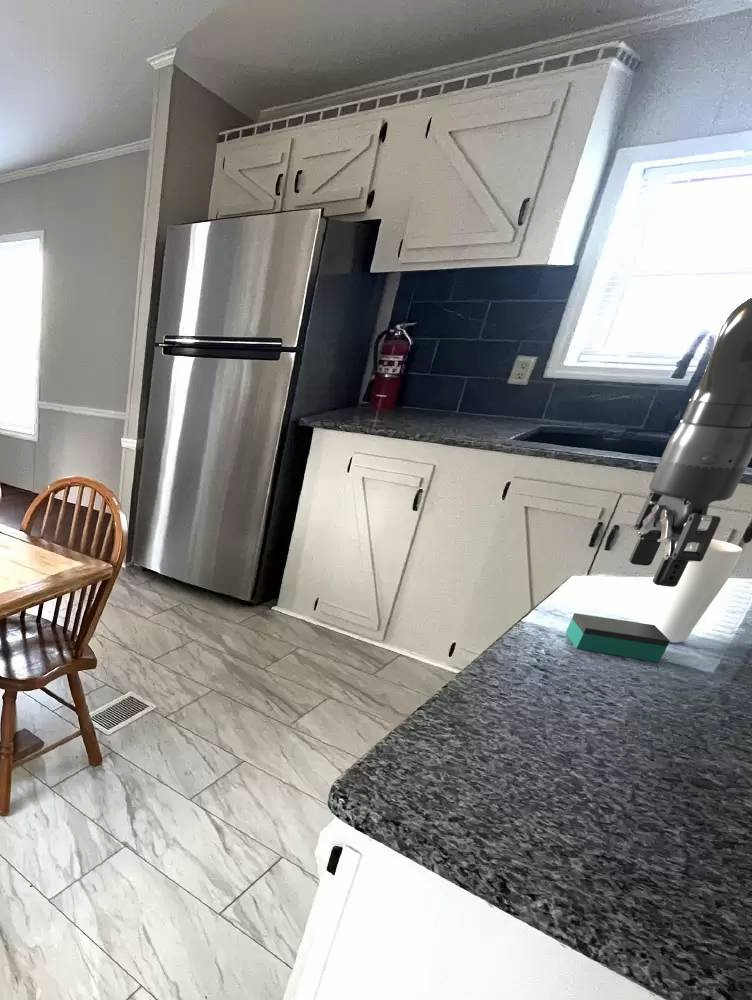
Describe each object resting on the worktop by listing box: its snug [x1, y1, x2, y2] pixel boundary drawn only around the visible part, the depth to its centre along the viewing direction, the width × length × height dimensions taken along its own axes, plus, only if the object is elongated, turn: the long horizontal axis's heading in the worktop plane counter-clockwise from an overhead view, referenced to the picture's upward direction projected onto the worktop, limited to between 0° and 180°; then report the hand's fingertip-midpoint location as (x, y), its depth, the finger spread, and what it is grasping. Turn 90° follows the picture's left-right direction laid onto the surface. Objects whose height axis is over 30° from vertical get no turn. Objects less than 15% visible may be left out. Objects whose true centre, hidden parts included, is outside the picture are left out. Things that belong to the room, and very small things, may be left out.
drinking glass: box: [639, 538, 744, 644], centre depth 93 cm, size 7×7×15 cm
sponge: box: [565, 612, 671, 663], centre depth 93 cm, size 9×6×4 cm, turn 62°
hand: (650, 574), depth 89 cm, fingers open, 8 cm apart
